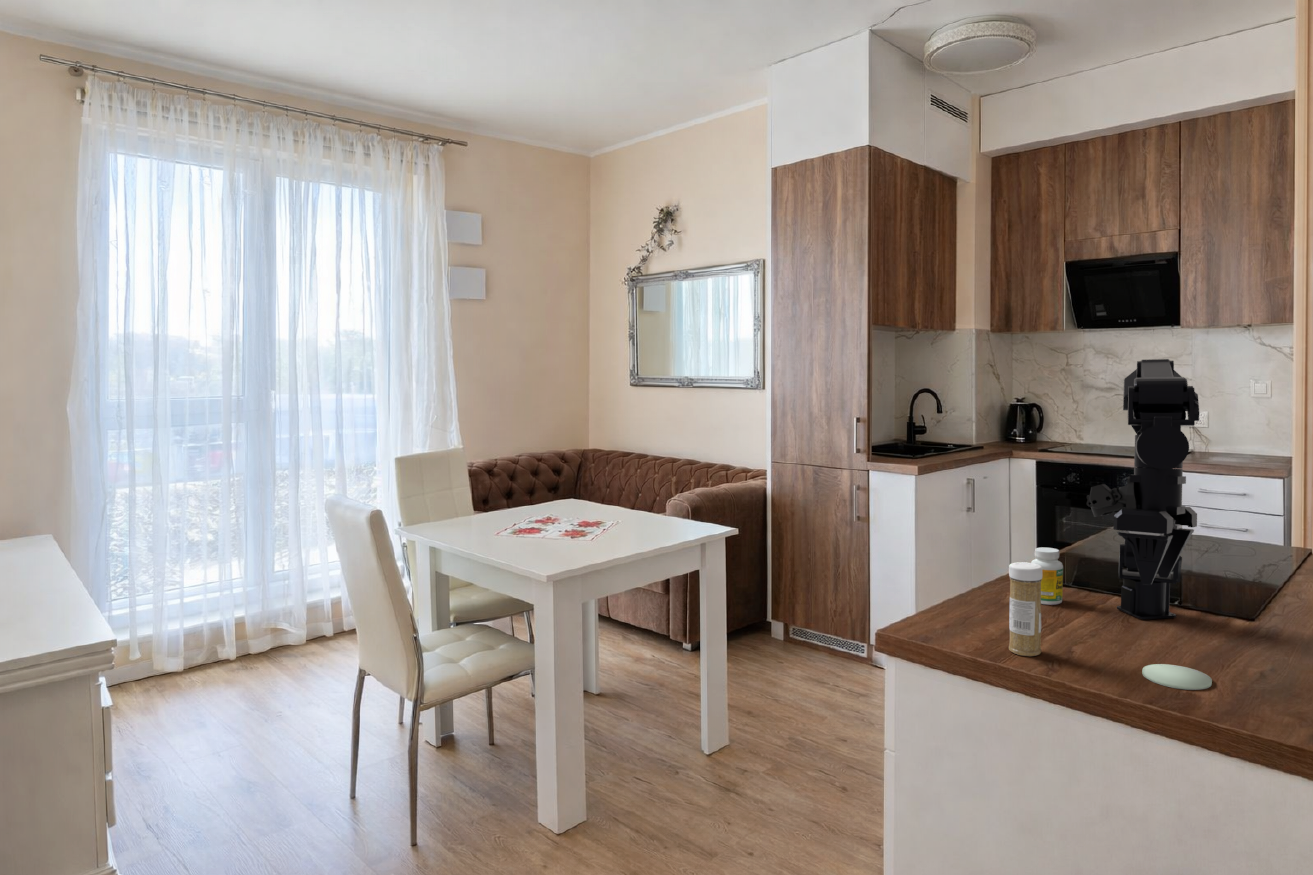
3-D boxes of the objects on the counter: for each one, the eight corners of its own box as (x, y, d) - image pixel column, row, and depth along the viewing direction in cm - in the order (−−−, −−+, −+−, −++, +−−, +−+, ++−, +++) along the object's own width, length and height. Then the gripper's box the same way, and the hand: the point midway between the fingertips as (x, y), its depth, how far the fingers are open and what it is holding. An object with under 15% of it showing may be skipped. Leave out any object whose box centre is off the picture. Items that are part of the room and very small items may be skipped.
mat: (1181, 665, 115) (1182, 662, 115) (1226, 687, 107) (1226, 684, 107) (1129, 669, 114) (1129, 665, 114) (1170, 691, 106) (1170, 687, 106)
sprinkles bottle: (1047, 652, 121) (1048, 565, 120) (1029, 659, 119) (1031, 570, 118) (1019, 644, 125) (1020, 559, 124) (1001, 650, 123) (1002, 564, 121)
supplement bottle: (1032, 595, 151) (1033, 545, 150) (1064, 599, 148) (1065, 548, 147) (1027, 602, 147) (1028, 551, 146) (1060, 606, 144) (1061, 554, 143)
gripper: (1113, 465, 124) (1110, 567, 124) (1073, 466, 111) (1070, 579, 110) (1199, 469, 116) (1196, 577, 116) (1167, 469, 103) (1164, 591, 103)
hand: (1155, 580), depth 111 cm, fingers open, 9 cm apart
